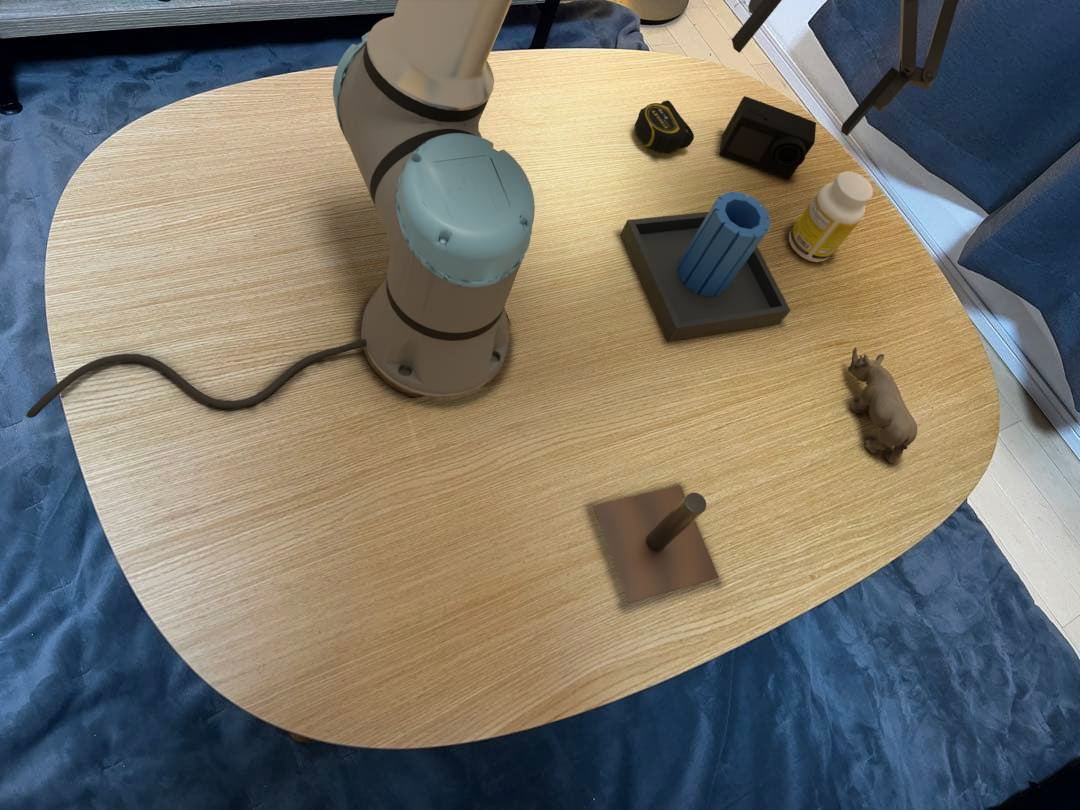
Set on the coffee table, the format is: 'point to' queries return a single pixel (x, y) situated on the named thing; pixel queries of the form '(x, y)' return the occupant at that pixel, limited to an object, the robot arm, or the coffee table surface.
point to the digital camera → (767, 138)
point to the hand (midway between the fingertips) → (789, 88)
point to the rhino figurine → (883, 406)
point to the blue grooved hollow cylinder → (723, 243)
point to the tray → (688, 313)
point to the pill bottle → (830, 217)
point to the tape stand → (656, 542)
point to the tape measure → (662, 128)
